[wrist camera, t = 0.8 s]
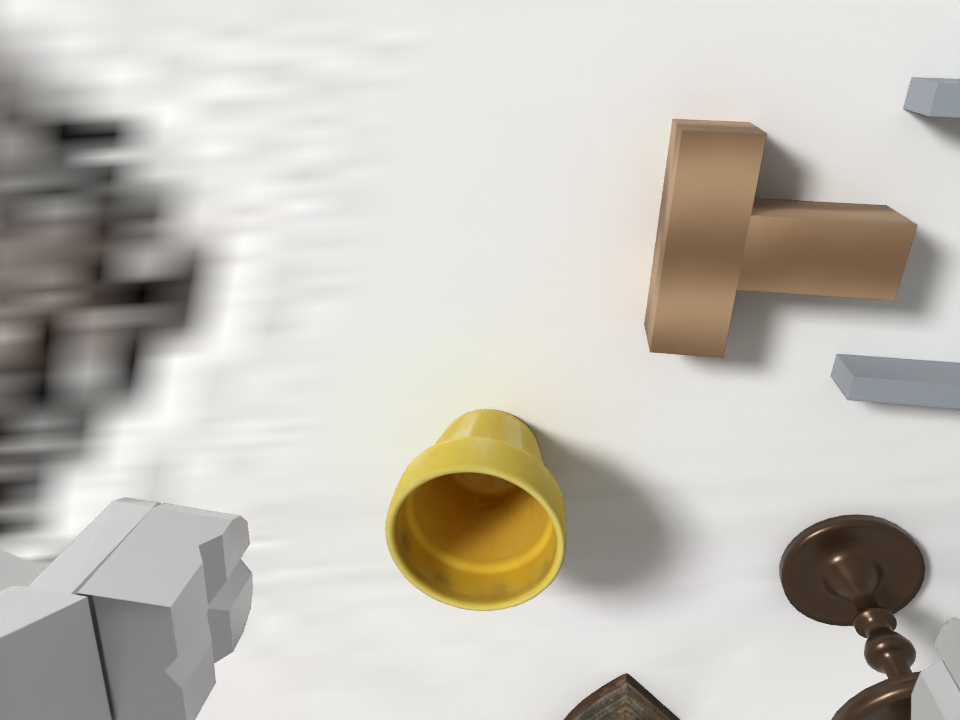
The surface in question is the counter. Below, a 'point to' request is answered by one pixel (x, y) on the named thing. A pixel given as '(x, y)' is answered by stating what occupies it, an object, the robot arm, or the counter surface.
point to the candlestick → (860, 599)
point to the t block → (753, 240)
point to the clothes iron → (621, 703)
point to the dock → (895, 375)
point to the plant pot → (479, 516)
